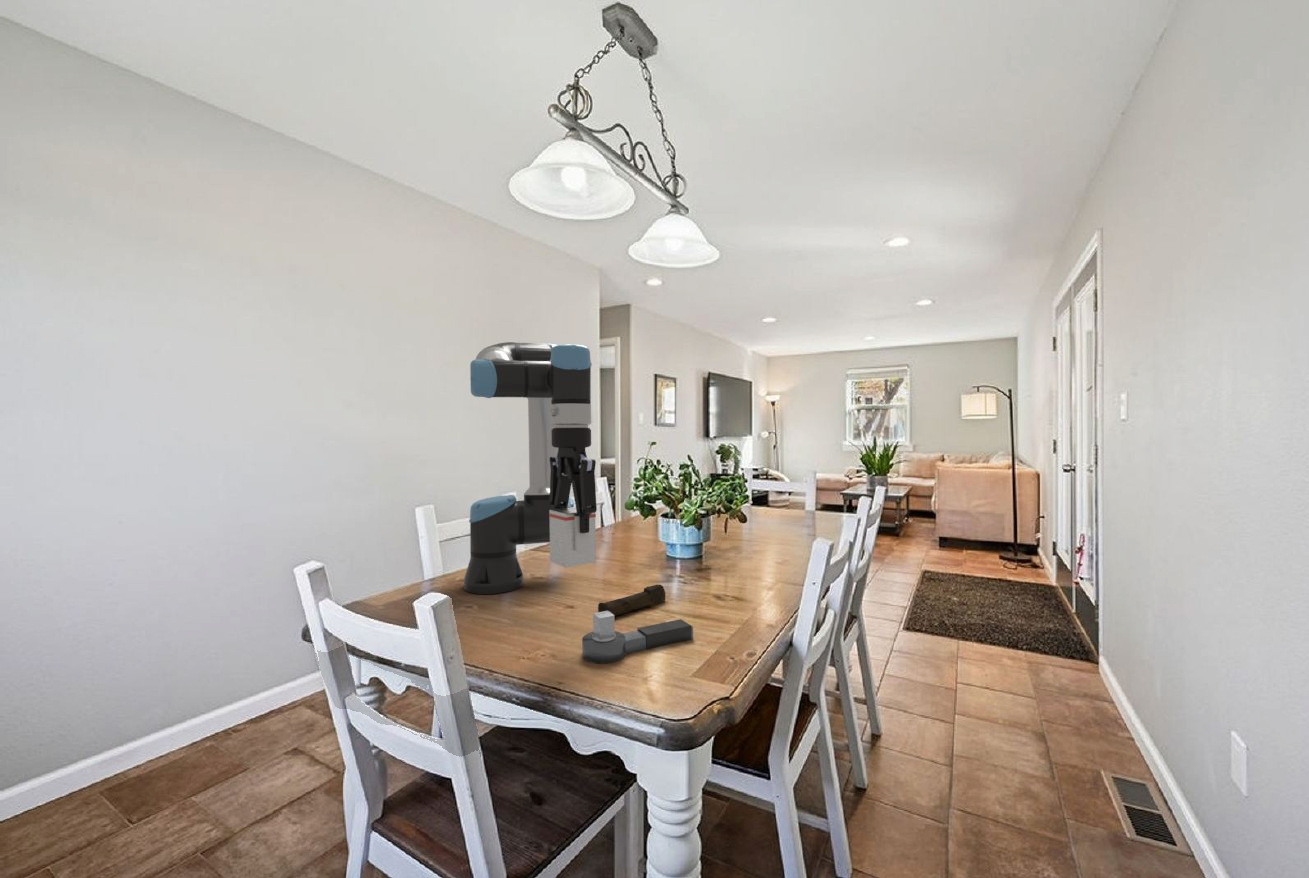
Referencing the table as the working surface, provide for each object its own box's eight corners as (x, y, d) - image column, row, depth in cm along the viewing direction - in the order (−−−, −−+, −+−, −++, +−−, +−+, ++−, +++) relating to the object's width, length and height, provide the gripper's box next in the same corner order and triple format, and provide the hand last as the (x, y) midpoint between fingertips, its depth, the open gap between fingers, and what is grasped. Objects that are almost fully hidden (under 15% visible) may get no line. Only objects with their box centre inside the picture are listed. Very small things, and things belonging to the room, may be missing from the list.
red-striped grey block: (549, 561, 107) (549, 509, 107) (579, 556, 111) (578, 506, 111) (566, 567, 102) (565, 513, 102) (596, 562, 106) (595, 510, 106)
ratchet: (592, 666, 98) (591, 625, 98) (576, 650, 105) (575, 611, 105) (698, 642, 109) (699, 604, 109) (677, 628, 116) (677, 593, 116)
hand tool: (607, 623, 120) (607, 602, 120) (596, 618, 123) (596, 597, 123) (672, 605, 132) (672, 585, 132) (661, 600, 135) (661, 581, 135)
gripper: (530, 426, 111) (532, 540, 112) (580, 426, 96) (581, 558, 97) (564, 426, 116) (565, 536, 117) (616, 426, 101) (616, 552, 101)
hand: (572, 546), depth 107 cm, fingers closed on red-striped grey block, 6 cm apart
